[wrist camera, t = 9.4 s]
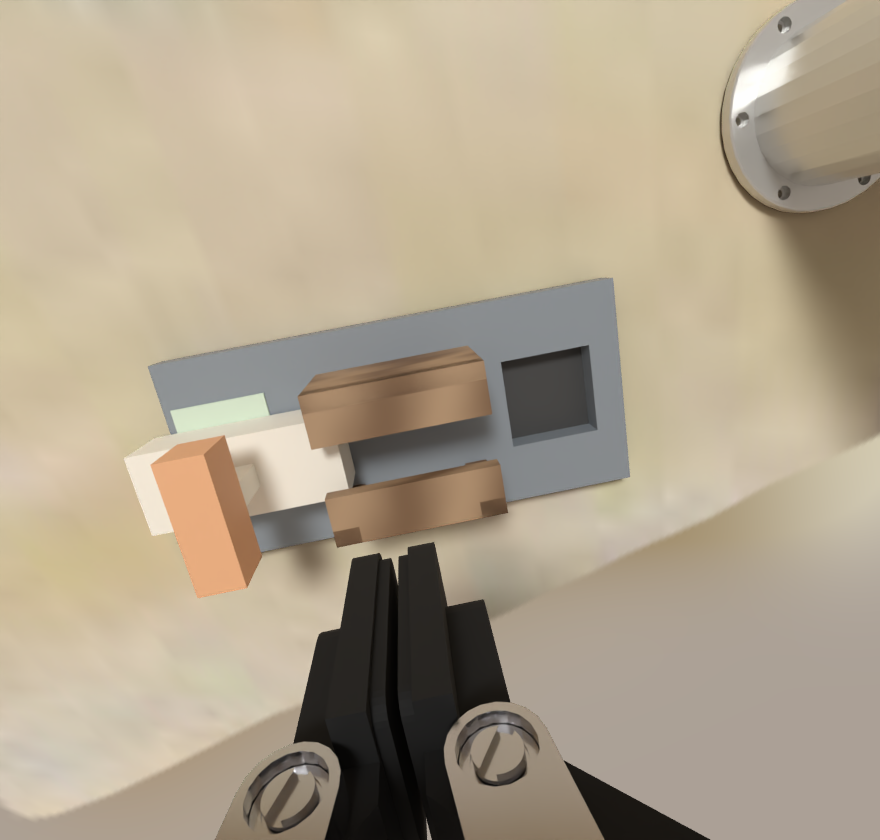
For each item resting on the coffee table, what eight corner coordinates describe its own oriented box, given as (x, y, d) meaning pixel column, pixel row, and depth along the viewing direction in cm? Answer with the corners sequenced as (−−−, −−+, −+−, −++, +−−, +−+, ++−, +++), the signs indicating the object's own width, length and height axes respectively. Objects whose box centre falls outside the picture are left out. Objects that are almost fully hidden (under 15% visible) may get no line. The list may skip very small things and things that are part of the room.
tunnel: (467, 345, 34) (483, 360, 28) (488, 472, 36) (508, 512, 30) (315, 374, 34) (297, 396, 27) (347, 500, 36) (337, 547, 30)
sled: (334, 387, 34) (308, 433, 24) (358, 485, 36) (344, 568, 25) (149, 423, 33) (42, 486, 23) (183, 520, 35) (98, 618, 25)
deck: (601, 278, 35) (613, 277, 33) (618, 467, 39) (630, 477, 37) (161, 361, 34) (146, 366, 32) (223, 547, 38) (213, 562, 36)
